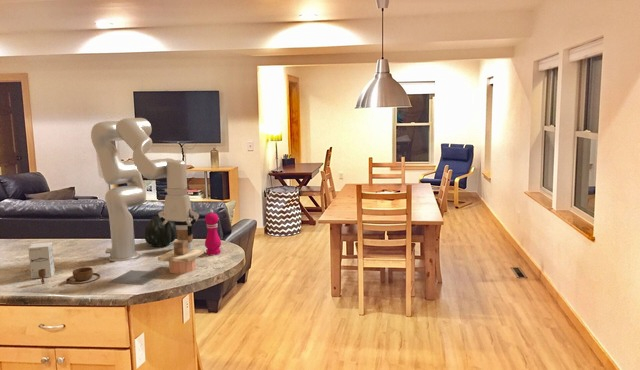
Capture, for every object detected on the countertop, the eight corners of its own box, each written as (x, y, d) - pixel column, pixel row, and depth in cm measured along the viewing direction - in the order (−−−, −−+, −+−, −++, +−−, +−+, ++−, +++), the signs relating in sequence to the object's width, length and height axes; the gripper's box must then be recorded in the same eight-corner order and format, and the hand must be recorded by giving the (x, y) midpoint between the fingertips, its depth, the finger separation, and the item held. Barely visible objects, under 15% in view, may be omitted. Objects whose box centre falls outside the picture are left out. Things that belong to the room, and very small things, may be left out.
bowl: (164, 274, 200) (163, 259, 199) (177, 266, 210) (176, 252, 209) (187, 275, 198) (186, 260, 197) (199, 267, 207) (199, 253, 207)
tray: (107, 284, 190) (106, 282, 190) (131, 271, 204) (130, 270, 204) (142, 286, 186) (142, 284, 186) (164, 273, 201) (164, 272, 201)
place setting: (77, 291, 185) (75, 276, 184) (36, 286, 191) (34, 271, 190) (112, 276, 201) (110, 262, 200) (72, 272, 208) (71, 258, 207)
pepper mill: (217, 255, 224) (215, 211, 221) (202, 255, 226) (200, 211, 223) (224, 251, 231) (222, 208, 228) (209, 250, 233) (207, 207, 230)
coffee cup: (178, 247, 240) (176, 216, 238) (196, 246, 241) (194, 215, 239) (174, 252, 232) (172, 220, 230) (193, 251, 232) (191, 219, 230)
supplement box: (30, 279, 198) (27, 247, 196) (35, 273, 205) (32, 243, 203) (51, 277, 200) (48, 246, 198) (55, 271, 207) (52, 241, 205)
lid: (158, 260, 198) (157, 244, 197) (175, 251, 211) (174, 236, 210) (188, 262, 195) (187, 246, 194) (203, 252, 208) (203, 238, 207)
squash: (186, 230, 252) (164, 208, 250) (174, 238, 237) (152, 215, 236) (166, 248, 254) (145, 226, 253) (154, 257, 240) (132, 235, 239)
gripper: (152, 192, 198) (154, 235, 200) (192, 194, 194) (194, 238, 196) (162, 189, 205) (164, 230, 208) (202, 191, 201) (203, 233, 203)
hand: (179, 234), depth 202 cm, fingers open, 9 cm apart
